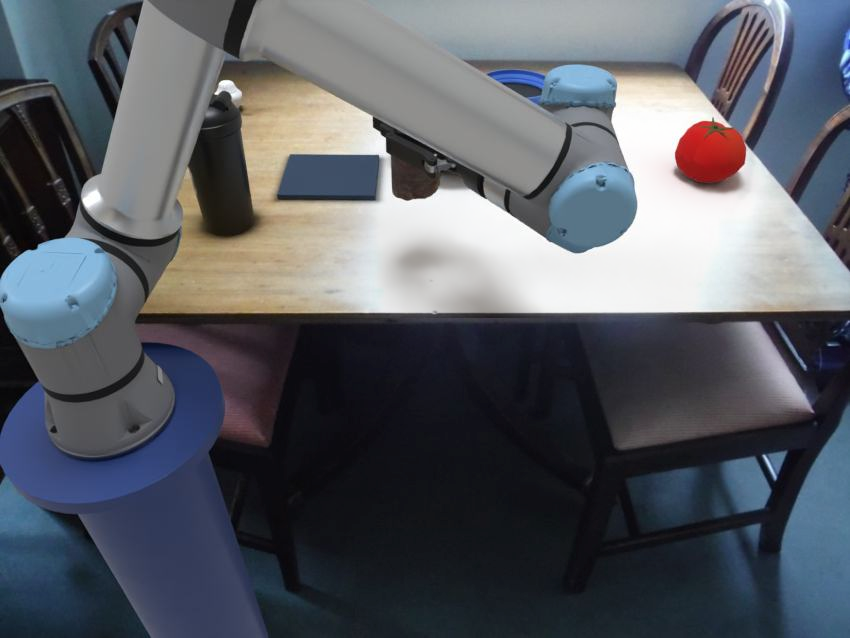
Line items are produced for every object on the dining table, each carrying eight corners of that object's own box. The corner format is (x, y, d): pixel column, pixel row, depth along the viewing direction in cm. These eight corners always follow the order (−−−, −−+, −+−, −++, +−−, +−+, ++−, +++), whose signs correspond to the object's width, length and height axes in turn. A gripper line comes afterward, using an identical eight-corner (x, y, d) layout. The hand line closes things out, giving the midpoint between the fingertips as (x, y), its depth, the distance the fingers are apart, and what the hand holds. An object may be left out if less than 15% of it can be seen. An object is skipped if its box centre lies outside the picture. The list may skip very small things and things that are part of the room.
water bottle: (209, 206, 119) (179, 80, 104) (265, 208, 119) (243, 82, 104) (192, 238, 112) (157, 107, 97) (252, 240, 112) (226, 109, 96)
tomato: (662, 159, 135) (675, 110, 128) (722, 160, 135) (739, 110, 128) (681, 193, 125) (696, 141, 118) (746, 193, 125) (765, 141, 118)
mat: (277, 199, 122) (276, 194, 121) (290, 158, 134) (289, 154, 133) (375, 200, 122) (375, 195, 121) (379, 159, 134) (379, 154, 133)
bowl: (530, 79, 167) (531, 64, 165) (566, 106, 155) (569, 91, 152) (465, 88, 162) (466, 74, 160) (497, 117, 150) (499, 102, 147)
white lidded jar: (216, 106, 152) (210, 76, 148) (243, 103, 154) (238, 73, 149) (218, 117, 148) (211, 86, 143) (245, 114, 149) (240, 84, 145)
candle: (401, 175, 104) (398, 45, 91) (446, 182, 102) (450, 51, 89) (384, 199, 99) (379, 64, 86) (431, 207, 97) (433, 71, 84)
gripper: (438, 225, 80) (340, 153, 94) (555, 177, 90) (450, 118, 103) (440, 169, 75) (336, 102, 89) (563, 125, 85) (452, 70, 98)
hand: (397, 111), depth 96 cm, fingers closed on candle, 7 cm apart
